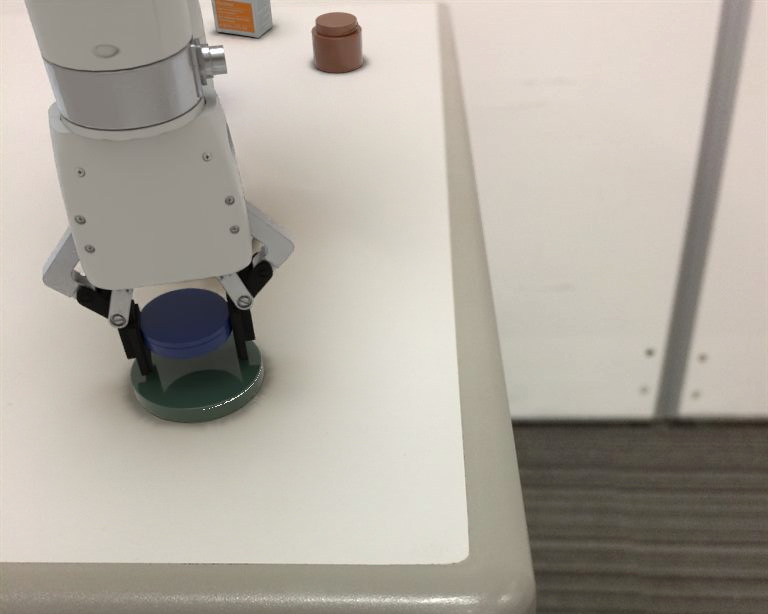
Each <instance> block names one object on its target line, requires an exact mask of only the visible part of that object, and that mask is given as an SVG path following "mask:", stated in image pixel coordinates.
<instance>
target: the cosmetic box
mask: <svg viewBox="0 0 768 614" xmlns="http://www.w3.org/2000/svg"><path fill="white" fill-rule="evenodd" d="M210 1H211V8H212V15H213V22H214V28H215V32H217V33H225V34H233V35H239V36H246V37H252V38H255V39H259V38H260V37H261V36H263V35H265V34H266V33H267V31H269V30H270V29H271V28H273V26H274V25H273V14H272V5H271V4H272V3H271V0H210Z"/></svg>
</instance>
